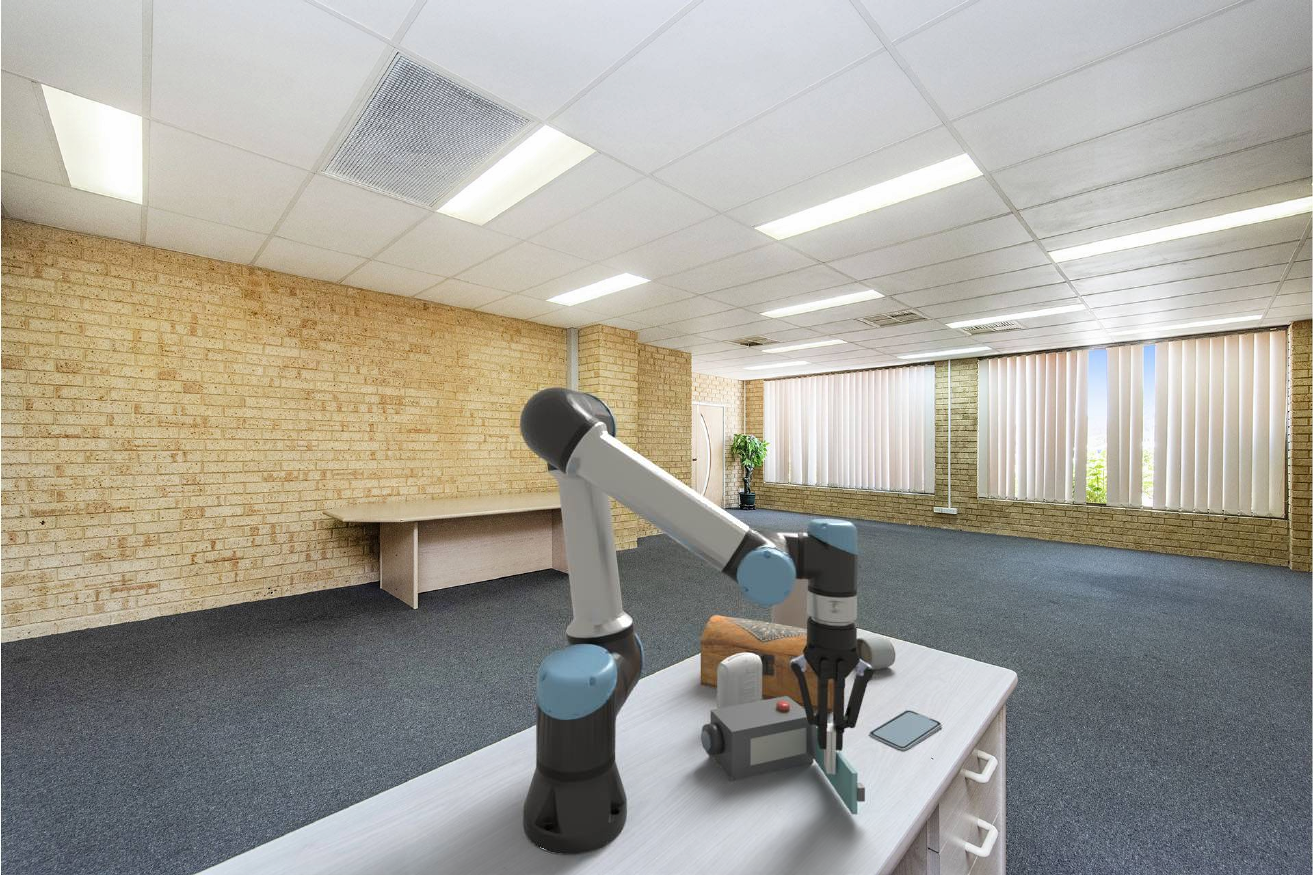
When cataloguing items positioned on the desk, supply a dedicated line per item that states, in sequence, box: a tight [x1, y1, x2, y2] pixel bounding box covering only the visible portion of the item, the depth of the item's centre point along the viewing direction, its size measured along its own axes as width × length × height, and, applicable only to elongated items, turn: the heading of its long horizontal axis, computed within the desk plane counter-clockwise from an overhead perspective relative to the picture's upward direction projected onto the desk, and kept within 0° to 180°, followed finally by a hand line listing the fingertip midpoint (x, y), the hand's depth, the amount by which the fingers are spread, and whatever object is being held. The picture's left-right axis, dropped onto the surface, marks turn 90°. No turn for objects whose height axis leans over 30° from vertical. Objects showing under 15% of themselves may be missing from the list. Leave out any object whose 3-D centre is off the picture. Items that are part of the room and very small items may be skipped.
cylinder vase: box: [771, 579, 809, 629], centre depth 149 cm, size 12×12×25 cm
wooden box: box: [699, 614, 834, 713], centre depth 126 cm, size 30×16×14 cm, turn 62°
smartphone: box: [868, 709, 942, 752], centre depth 106 cm, size 7×1×15 cm
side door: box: [813, 725, 866, 815], centre depth 88 cm, size 15×2×6 cm, turn 6°
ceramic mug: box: [857, 636, 896, 671], centre depth 138 cm, size 11×8×8 cm
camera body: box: [700, 696, 814, 782], centre depth 96 cm, size 19×8×9 cm, turn 110°
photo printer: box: [716, 653, 763, 709], centre depth 112 cm, size 10×4×12 cm, turn 123°
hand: (829, 768), depth 86 cm, fingers closed
